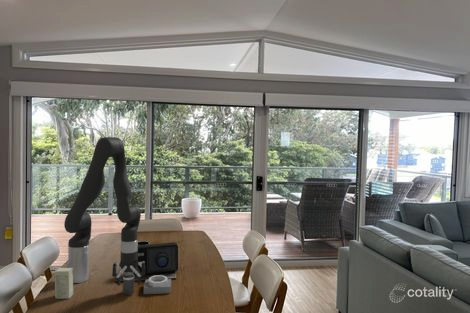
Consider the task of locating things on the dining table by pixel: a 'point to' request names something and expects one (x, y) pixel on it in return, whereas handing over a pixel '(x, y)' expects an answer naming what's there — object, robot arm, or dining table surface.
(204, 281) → the dining table surface
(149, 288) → the mount block
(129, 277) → the lens
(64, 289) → the skincare box
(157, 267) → the camera
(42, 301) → the dining table surface
